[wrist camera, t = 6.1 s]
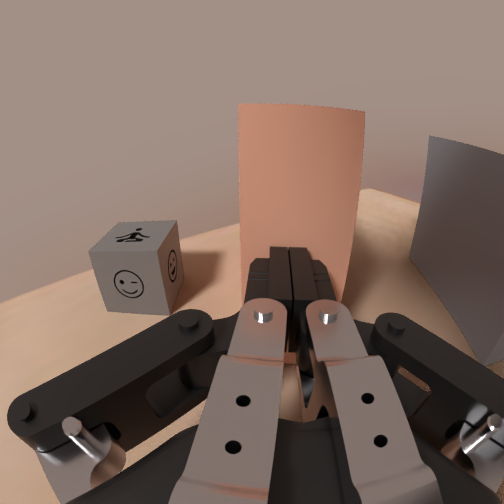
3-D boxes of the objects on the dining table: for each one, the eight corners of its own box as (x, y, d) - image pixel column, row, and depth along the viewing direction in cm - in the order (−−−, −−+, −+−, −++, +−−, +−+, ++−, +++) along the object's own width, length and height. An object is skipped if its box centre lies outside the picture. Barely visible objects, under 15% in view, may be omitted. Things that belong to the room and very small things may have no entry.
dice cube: (107, 312, 18) (88, 251, 15) (130, 276, 22) (118, 222, 20) (170, 316, 18) (156, 250, 15) (184, 277, 22) (176, 220, 20)
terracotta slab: (261, 243, 28) (262, 114, 22) (306, 245, 27) (313, 116, 21) (243, 361, 14) (238, 103, 9) (325, 363, 14) (365, 111, 8)
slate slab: (408, 258, 25) (429, 135, 19) (441, 259, 24) (463, 145, 19) (481, 367, 11) (556, 175, 6) (516, 355, 11) (581, 191, 5)
